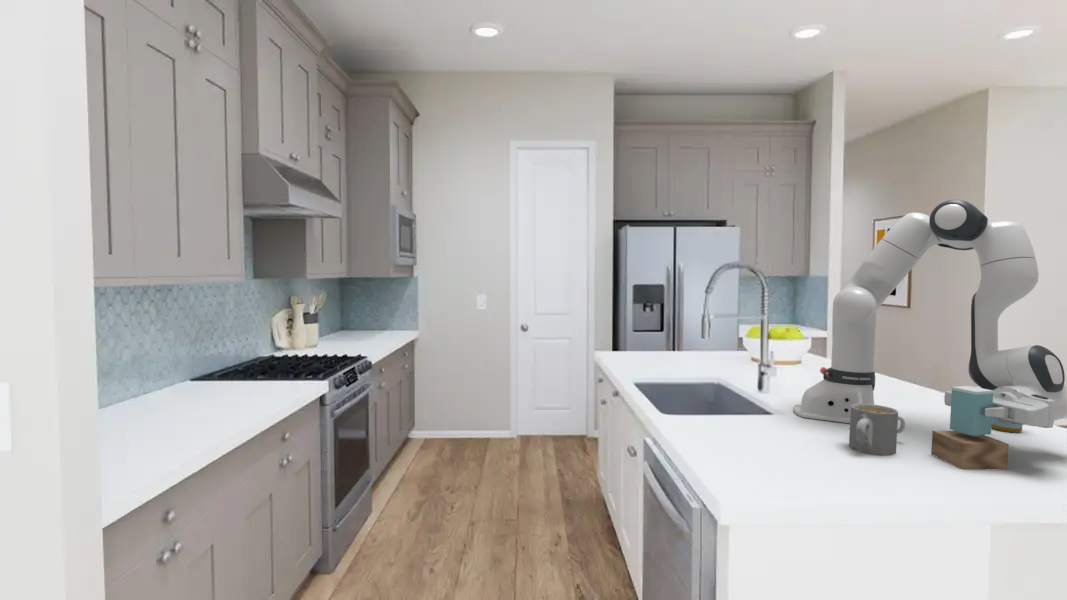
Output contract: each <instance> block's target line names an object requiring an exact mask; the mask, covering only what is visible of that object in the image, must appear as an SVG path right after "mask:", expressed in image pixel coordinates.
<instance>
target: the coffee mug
mask: <svg viewBox="0 0 1067 600" xmlns="http://www.w3.org/2000/svg"><path fill="white" fill-rule="evenodd" d="M898 416H899V412H898V410H897V409H895V408H893V407H889V406H885V405H879V404H874V405H873V404H854V405H851V415H850V423H849V436H848V437H849V438H848V439H849V440H848V441H849V442H848V446H849V448H851V449H852V450H854V451H857V452H861V453H864V454H869V455H875V456H892V455H895V454H896V453H897V441H898V439H897V437H898V434H897V430H898V421H899V419H898Z"/></svg>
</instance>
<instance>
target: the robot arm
mask: <svg viewBox="0 0 1067 600" xmlns="http://www.w3.org/2000/svg"><path fill="white" fill-rule="evenodd" d="M934 245H937V246H939V247H942V248H948V249H952V250H955V251H956V250H957V251H970V250H974V251H975V252H976V255H977V258H978V263H979V269H980V282H979V285H978V287H977V290H976V292H975V293H974V294H973V296H972V298H971V304H970V305H971V307H970V325H971V326H970V346H971V347H970V348H971V350H970V357H969V363H968V373H969V377H970V379H971V380H972V381H973V382H974V384H976V385H977V386H978V388H983V389H988V390H993V391H994V393H993V407H992V408H989V407H982V408H981V412H980V414H981V415H984V416H988V417H990V416H992V417H996V418H997V419H998V420H999V421H1001V422H1003V423H1005V424H1011V425H1014V424H1019V425H1024V426H1025V425H1026V426H1028V427H1029V426H1031V427H1037V428H1044V429H1052V428H1053V427H1054V422H1055V421H1057V420H1061V419H1065V417H1067V386H1066V384H1065V380H1066V379H1065V371H1064V370H1065V369H1064V366H1063V363H1062V361H1061V359H1060V358H1059V357H1058V356H1057V355H1056V354H1055V353H1054V352H1053V351H1051V350H1050V349H1049V348H1047V347H1044V346H1042V345H1038V344H1035V345H1029V346H1021V347H1014V348H1011V349H1009V348H1008V349H1002V350H999V341H998V340H999V337H998V335H999V334H998V331H999V329H998V327H999V326H998V324H999V318H1000V316H1001V315H1002V314H1003V313H1004V311H1005V310H1006V309H1007V308H1009V307H1010V306H1012V305H1013V304H1015V303H1016V302H1018V301H1019V300H1021V299H1023V298H1025V297H1026V296H1027V295H1028V294H1030V292H1032V291H1033V290H1034V288H1035V287H1036V285H1037V284H1038V282H1039V275H1040V274H1039V269H1038V268H1039V266H1038V263H1037V258H1036V256H1035V251H1034V248H1033V247H1034V246H1033V244H1032V242H1031V239H1030V236H1029V235H1028V233H1027V231H1026V229H1025V228H1024V226H1023V225H1022V224H1021V223H1019V222H1017V221H1013V220H1000V221H994V222H992V221H991V222H990V221H989V218H988V217H987V216H986V215H985V214H984V213H983V212H982V211H981V210H979V208H977V207H976V206H975V205H974V204H972V203H970V202H968V201H965V200H961V199H949V200H945V201H943V202H941V203H939V204H938V205H936V207H934V208H933V209H932V211H931V213H930V215H927V214H925V213H922V212H909V213H907V214H905V215H904V216H902V217H901V218H900V219H899V220H898V221H897V222H896V223H895V224H894V225H892V227H891V228H890V229H889V230H888V231H887V232H886V233H885V234H884V235H883V237H881V239H880V240H879V241H878V243H877V244H876V245H875V247H874V248H873V249H872V250H871V251H870V253H869V254H868V255H867V257H866V258H865V259H864V261H863V262H862V263H861V264H860V266H859V267H858V268H857V270H856V271H855V272H854V274H853V275H852V276H851V277H850V279H849V280H848V282H847V283H846V284H845V285H844V287H843V288H842V289H841V290H840V291H839V292H838V293H837V294H836V295H835V296H834V299H833V301H832V330H831V332H832V340H831V365H830V367H828V368H826V367H824V366H823V367H821V368H820V369H819V372H820V373H821V374H822V375H823V380H821V381H819V382H817V383H816V384H814V385H812V386H810V387H809V388H807V389H806V390H805V391H804V392H803V395H802V397H801V402H800V404H796V405H795V404H794V406H793V407H792V411H793V412H794V414H795V415H796V416H799V417H800V418H801V417H802V418H806V419H813V420H820V421H821V420H822V421H828V422H837V423H846V424H850V415H851V405H854V404H873V405H875V398H874V391H875V386H876V372H875V371H874V368H875V366H874V364H875V350H876V348H875V347H876V327H877V326H876V325H877V311H878V309H879V308H880V307H881V305H882V304H883V303H884V302H885V301H886V300H887V298H888V297H889V296H890V295H891V294H892V293H893V291H894V290H895V289H896V288H897V287H898V286H899V285H900V284H901V282H903V281H904V279H905V278H906V276H907V275H908V274H909V273H910V271H911V270H912V269H913V268H914V267H915V266H916V264H917V263H918V262H919V260H920V259H921V258H922V257H923V256H924V254H925V253H926V252H927V251H928V250H929V249H930V248H931V247H933V246H934ZM951 396H952V389H951V390H950V389H949V390H946V391H945V393H944V396H943V397H944V398H943V401H944V405H945V406H948V407H951Z"/></svg>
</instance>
